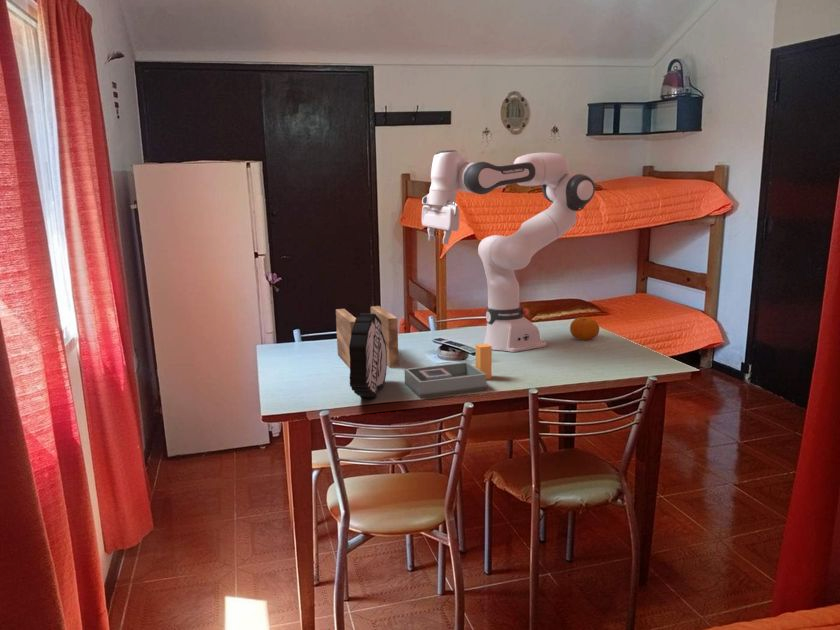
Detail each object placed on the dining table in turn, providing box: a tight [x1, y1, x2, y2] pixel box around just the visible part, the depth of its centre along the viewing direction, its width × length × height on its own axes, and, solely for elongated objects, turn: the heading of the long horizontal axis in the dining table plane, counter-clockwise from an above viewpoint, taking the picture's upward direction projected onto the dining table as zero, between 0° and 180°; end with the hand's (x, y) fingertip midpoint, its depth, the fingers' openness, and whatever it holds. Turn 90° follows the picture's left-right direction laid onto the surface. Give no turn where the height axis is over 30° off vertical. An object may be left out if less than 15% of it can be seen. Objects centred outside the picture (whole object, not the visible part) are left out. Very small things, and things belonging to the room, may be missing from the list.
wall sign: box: [349, 312, 388, 399], centre depth 186 cm, size 22×4×30 cm
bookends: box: [335, 305, 399, 369], centre depth 222 cm, size 15×22×16 cm
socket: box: [419, 368, 452, 381], centre depth 193 cm, size 7×7×4 cm
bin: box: [403, 361, 488, 399], centre depth 194 cm, size 20×14×4 cm
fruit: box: [569, 316, 600, 341], centre depth 246 cm, size 10×10×8 cm
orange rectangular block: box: [475, 343, 493, 380], centre depth 201 cm, size 4×4×10 cm
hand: (438, 242), depth 222 cm, fingers open, 8 cm apart
